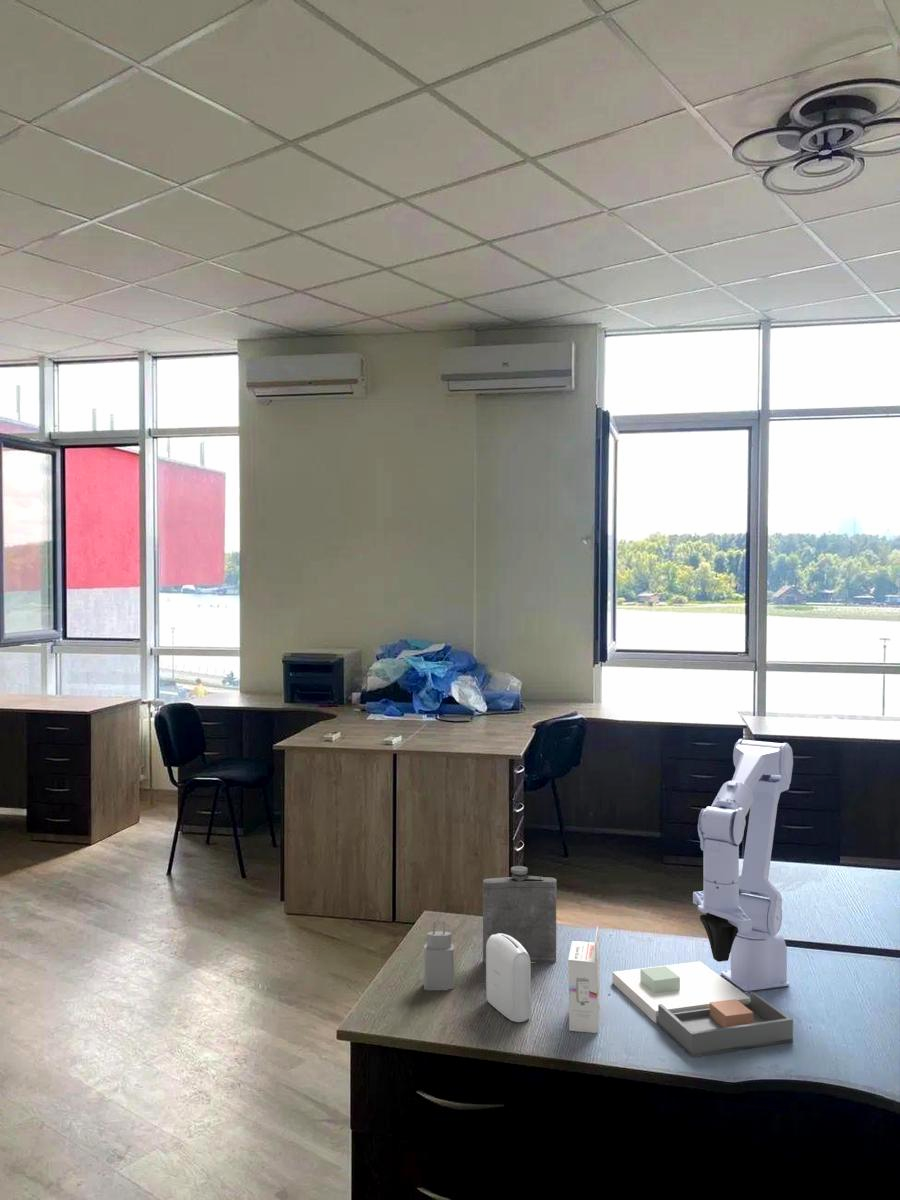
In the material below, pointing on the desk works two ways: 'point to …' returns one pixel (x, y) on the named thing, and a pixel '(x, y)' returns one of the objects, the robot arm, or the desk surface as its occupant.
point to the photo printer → (508, 977)
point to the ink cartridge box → (584, 985)
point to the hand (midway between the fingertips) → (720, 959)
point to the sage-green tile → (660, 979)
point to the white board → (694, 990)
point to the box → (726, 1029)
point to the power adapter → (438, 960)
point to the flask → (522, 912)
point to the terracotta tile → (730, 1013)
